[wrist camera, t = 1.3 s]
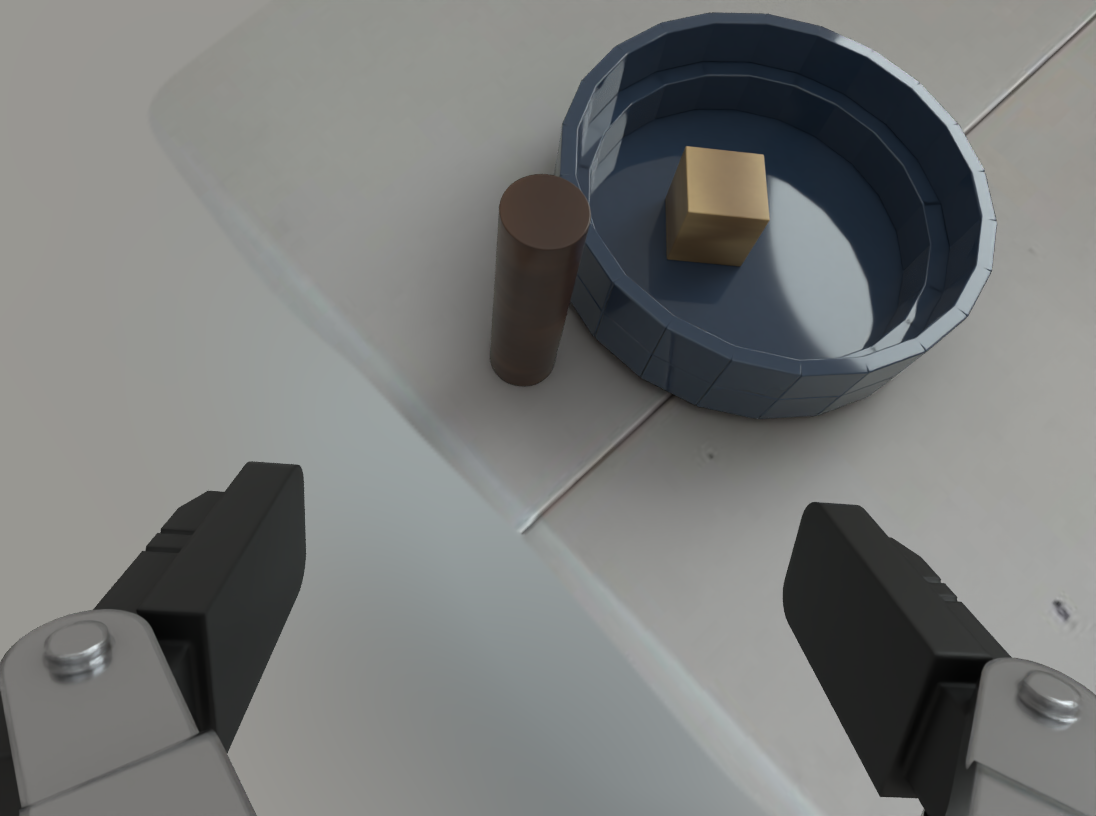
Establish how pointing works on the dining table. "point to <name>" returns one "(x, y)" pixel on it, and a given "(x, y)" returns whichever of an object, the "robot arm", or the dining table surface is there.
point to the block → (716, 206)
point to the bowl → (775, 214)
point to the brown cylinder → (535, 274)
